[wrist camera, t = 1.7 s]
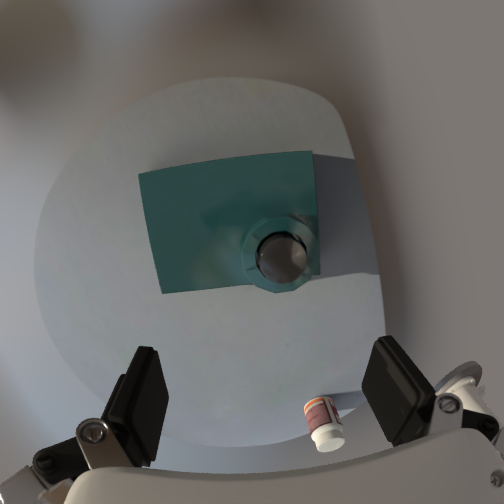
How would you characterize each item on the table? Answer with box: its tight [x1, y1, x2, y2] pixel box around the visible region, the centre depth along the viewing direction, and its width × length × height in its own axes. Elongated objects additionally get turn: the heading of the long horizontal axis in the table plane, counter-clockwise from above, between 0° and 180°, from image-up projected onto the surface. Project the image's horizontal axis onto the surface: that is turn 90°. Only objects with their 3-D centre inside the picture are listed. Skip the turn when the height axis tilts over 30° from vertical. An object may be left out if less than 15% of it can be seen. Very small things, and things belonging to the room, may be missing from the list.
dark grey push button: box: [259, 234, 307, 284], centre depth 23 cm, size 4×4×2 cm
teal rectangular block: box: [138, 151, 320, 294], centre depth 25 cm, size 16×12×5 cm
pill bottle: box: [304, 396, 345, 452], centre depth 33 cm, size 5×5×8 cm
